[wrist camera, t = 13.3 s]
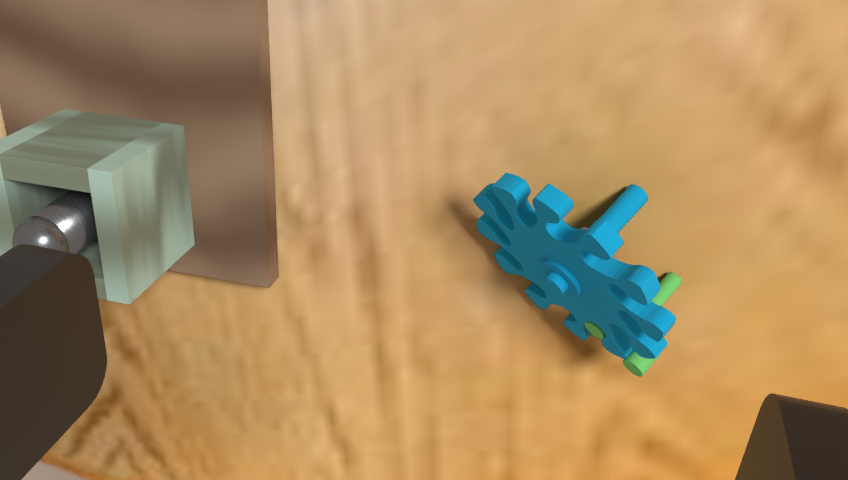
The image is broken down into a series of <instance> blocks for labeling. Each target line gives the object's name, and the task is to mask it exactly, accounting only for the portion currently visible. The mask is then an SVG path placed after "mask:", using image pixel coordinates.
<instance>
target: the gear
mask: <svg viewBox="0 0 848 480" xmlns="http://www.w3.org/2000/svg"><path fill="white" fill-rule="evenodd" d="M530 193H531V190H530V187H529V185H528V184H527V182H526V181H525V180H524V179H522V178H520V177H518V176H516V175H513V174H508V173H505V174H504V175H503V176H502V177H501V178H500V179H499V180H498V181H497V182H496V183H495V184H489V185H487V186H486V187H485V188H484V189H483V190H482V191H481V192H480V193H479V194H478V195H477V196H476V197H475V198H474V199H473V201H474V202H475V204H476V205H477V206H478V207H479V208H480V209H481V210H482V211H483V212H484V214H483V215H482V216H481V217H480V218H479V219H478V220H477V229H478V231H479V232H480V233H481V234H482V235H483V236H484V237H486V238H487V239H489V240H492V241H493V242H495V243H497V244H498V245H500V246H501V247H500V248H499V249H498V250H497V251H496V252H495V253H494V256H495V258H496V260H497V262H498V264H499V265H500V267H501V268H502V269H503V270H504V271H505V272H507V273H509V274H518V275H521V276H523V277H525V278H527V279H528V280H530V281H532V283H531V285H530V286H529V287H528V288H527V289H526V290H525V292H526V294H527V295H528V296H529V298H530V299H531V300H532V301H533V302H534V303H535V304H536V305H537V306H538V307H539V308H540V309H543V310H545V309H546V308H547V307H548V306H549V305H550V304H554V305H558V306H562V307H564V308H566V309H567V310H568V311H570V312H571V313H570V314H569V316H568V317H567V318H566V319H565V320H564V322H563V323H564V325H565V326H566V327H567V328H568V329H569V330H570V331H571V332H572V333H574V334H575V335H576V336H578V337H579V338H580V339H582V340H586V339H587V338H588V336H589V335H590V334H592V335H593V336H595V337H597V338H599V339H602V340H601V342H602V345H603V346H604V348H605V349H606V350H608V351H609V352H611V353H613V354H614V355H616V356H618V357H621V358H623V359H624V360H623V364H624V365H625V367H626V368H627V369H628V370H629V371H630V372H632V373H633V374H635V375H637V376H639V377H642V376H643V375H644V373H645V372H646V371H647V370H648V369H649V367H650V366H651V365H652V364H653V363H654V361H655V360H656V359H657V358H658V357H659V355H660V353H661V352H662V350H663V349H664V348H665V347H666V346H667V341H666V340H665V339H664V336H665V335H666V333H667V332H668V331H669V330H670V329H671V327H672V326H673V325H674V323H675V321H676V317H675V316H674V315H673V314H672V313H671V312H670V311H668V310H667V309H665V308H664V307H662V305H663V304H664V303H665V302H666V300H667V299H668V298H669V297H670V296H671V295H672V293H673V292H674V291H675V290H676V289H677V288H678V286H679V285H680V284H681V283H682V281H681V279H680V278H679V277H678V276H677V275H676V274H674V273H672V272H669V273H668V274H667V275H666V276H665V277H664V278H663V279H662V281H661V282H660V283H659V281H658V279H657V277H656V275H655V273H654V271H652V270H651V269H649V268H647V267H645V266H643V265H630V264H626V263H623V262H620V261H619V260H618V259H617V257H616V256H615V254H614V253H615V252H616V251H617V250H618V249H619V248H620V247H621V246H622V244H623V243H624V242H623V240H622V238H621V237H620V236H619V234H618V233H619V231H620V230H621V229H622V228H623V227H624V226H625V225H626V224H627V223H628V222H629V220H630V219H631V218H632V217H633V216H634V215H635V214H636V213H637V212H638V211H639V209H640V208H641V207H642V206H643V205H644V204H645V203H646V202H647V201H648V196H647V194H646V192H645V191H644V190H643V189H642V188H640V187H639V186H637V185H629V187H628V188H627V189H626V190H625V191H624V192H623V193H622V194H621V195H620V196H619V197H618V198H617V199H616V201H615V202H614V203H613V204H612V205H611V206H610V207H609V208H608V209H607V210H606V211H605V212H604V214H603V215H602V216H601V217H600V218H599V219H597V220H596V221H595V222H594V223H593V224H592V225H591V226H590V227H589V228H587V227H581V228H580V229H576V228H573V227H571V226H569V225H568V224H566V223H565V222H564V221H563V220H562V219H563V218H564V217H565V216H566V215H567V213H568V212H569V211H570V210H571V209H572V208H573V201H572V200H571V199H570V198H569V197H568V196H567V195H565V194H564V193H563V192H561V191H560V190H559V189H557V188H556V187H554V186H552V185H551V184H547V185H546V187H545V188H544V189H543V190H542V191H541V192H540V193H539V194H538V195H537V196H536V197H535V198H534V199H533V206H534V208H535V210H536V211H535V210H534V209H533V208H532V207H531V205H530V204H529V202H528V199H527V198H528V196H529V194H530Z"/></svg>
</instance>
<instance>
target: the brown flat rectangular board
mask: <svg viewBox="0 0 848 480" xmlns="http://www.w3.org/2000/svg"><path fill="white" fill-rule="evenodd" d="M0 104H1V109H2V114H3V119H4V123H5V128H6V133H7V136H9V135H11V134H13V133H15V132H17V131H19V130H21V129H23V128H25V127H27V126H29V125H31V124H33V123H36V122H38V121H40V120H42V119H44V118H46V117H48V116H50V115H52V114H54V113H56V112H58V111H60V110H62V109H70V110H77V111H84V112H91V113H98V114H105V115H112V116H119V117H126V118H133V119H140V120H147V121H155V122H162V123H169V124H176V125H183V126H184V134H185V145H186V156H187V166H188V177H189V188H190V199H191V210H192V221H193V232H194V243H195V245H194V246H193V247H191V248H190V249H189V250H188V251H187V252H186V253H185V254H184V255H183V256H182V257H181V258H180V259H178V260H177V261H176V262H175V263H174V264H173V265H172V266H171V267H170V268H169V269H168V270H169V271H175V272H180V273H186V274H192V275H197V276H203V277H209V278H215V279H220V280H226V281H232V282H237V283H243V284H249V285H254V286H260V287H266V288H270V287H271V285H272V284H273V283H274V282H275V281H276V279H277V278H278V277H279V276H278V252H277V227H276V203H275V179H274V155H273V131H272V106H271V82H270V58H269V34H268V10H267V0H0Z"/></svg>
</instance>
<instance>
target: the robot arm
mask: <svg viewBox="0 0 848 480" xmlns="http://www.w3.org/2000/svg"><path fill="white" fill-rule="evenodd" d="M106 366H107V355H106V348H105V341H104V335H103V328H102V322H101V316H100V309H99V303H98V296H97V290H96V283H95V277H94V272H93V268H92V266H91V263H90V262H89V260H88V259H87V258H86V257H84V256H82V255H80V254H75V253H70V252H64V251H59V250H54V249H49V248H44V247H39V246H34V245H29V244H20V245H17V246H15V247H13V248H11V249H10V250H8V251H7V252H6V253H4V254H3V255H1V256H0V480H21V479H22V478H23V477H24V476H25V475H26V474H27V473H28V471H30V469H31V468H32V467H33V466H34V465H35V464H36V463H37V462H38V461H39V460H40V459H41V458H42V457H43V456H44V454H45V453H46V452H47V451H48V450H49V449H50V448H51V447H52V446H53V445H54V444H55V443H56V442H57V440H58V439H59V438H60V437H61V436H62V435H63V434H64V433H65V432H66V431H67V430H68V429H69V428H70V427H71V425H72V424H73V423H74V422H75V421H76V420H77V419H78V418H79V417H80V416H81V415H82V414H83V413H84V411H85V410H86V409H87V408H88V407H89V406H90V405H91V404H92V402H93V401H94V399H95V398H96V396H97V394H98V392H99V391H100V388H101V386H102V383H103V380H104V377H105V372H106ZM735 480H848V409H846V408H843V407H838V406H833V405H828V404H823V403H818V402H813V401H808V400H803V399H797V398H792V397H787V396H782V395H777V394H772V393H771V394H769V395H768V396H767V397H766V398H765V400H764V401H763V403H762V405H761V408H760V410H759V413H758V416H757V419H756V422H755V425H754V427H753V430H752V433H751V436H750V439H749V442H748V444H747V447H746V450H745V453H744V456H743V459H742V461H741V464H740V467H739V470H738V473H737V476H736V478H735Z"/></svg>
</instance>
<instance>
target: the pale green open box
mask: <svg viewBox="0 0 848 480" xmlns="http://www.w3.org/2000/svg"><path fill="white" fill-rule="evenodd" d="M70 190H76V191H82V192H88V193H91V197H92V203H93V210H94V216H95V223H96V229H97V236H98V238H97V239H95V240H94V241H93V242H91V243H90V244H89V245H87V246H86V247H85V248H83V249H82V250H81V251H79V252H78V253H77V254H80V255H82V256H84V257H86V258H87V259H88V260H89V262H90V263H91V266H92V268H93V272H94V277H95V283H96V290H97V296H98V299H103V300H108V301H113V302H118V303H124V304H129V305H130V304H131V303H132V302H133V301H134V300H135V299H136V298H137V297H138V296H139V295H141V294H142V293H143V292H144V291H145V290H146V289H147V288H148V287H149V286H150V285H151V284H152V283H154V282H155V281H156V280H157V279H158V278H159V277H160V276H161V275H162V274H163V273H164V272H165V271H167V270H168V269H169V268H170V267H171V266H172V265H173V264H174V263H175V262H176V261H177V260H178V259H180V258H181V257H182V256H183V255H184V254H185V253H186V252H187V251H188V250H189V249H190V248H191V247H193V246H194V245H195V243H194V232H193V221H192V210H191V199H190V188H189V177H188V166H187V156H186V145H185V134H184V126H183V125H176V124H169V123H162V122H155V121H147V120H140V119H133V118H126V117H119V116H112V115H105V114H98V113H91V112H84V111H77V110H70V109H62V110H60V111H58V112H56V113H54V114H52V115H50V116H48V117H46V118H44V119H42V120H40V121H38V122H36V123H33V124H31V125H29V126H27V127H25V128H23V129H21V130H19V131H17V132H15V133H13V134H11V135H9V136H6V137H4V138H2V139H0V256H1V255H3V254H4V253H6V252H7V251H8V250H10V249H11V248H13V245H12V238H13V234H14V231H15V229H16V227H17V226H18V225H19V224H20V222H22V221H23V220H24V219H26V218H27V217H29V216H30V215H32V214H33V213H35V212H37V211H38V210H40V209H41V208H43V207H45V206H46V205H48V204H49V203H51V202H53V201H54V200H56V199H57V198H59V197H60V196H62V195H64V194H65V193H67V192H68V191H70Z"/></svg>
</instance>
